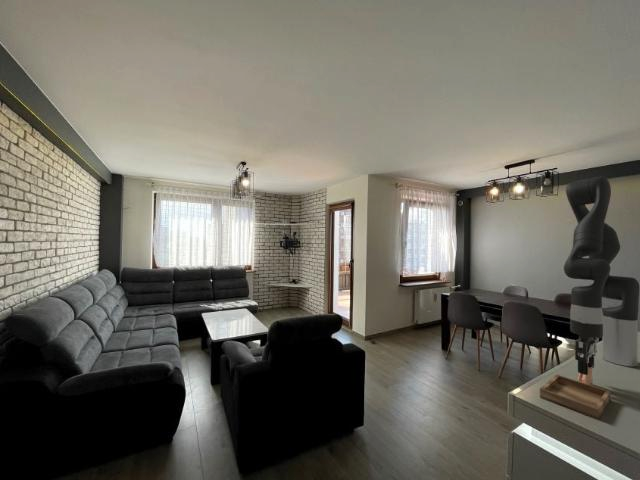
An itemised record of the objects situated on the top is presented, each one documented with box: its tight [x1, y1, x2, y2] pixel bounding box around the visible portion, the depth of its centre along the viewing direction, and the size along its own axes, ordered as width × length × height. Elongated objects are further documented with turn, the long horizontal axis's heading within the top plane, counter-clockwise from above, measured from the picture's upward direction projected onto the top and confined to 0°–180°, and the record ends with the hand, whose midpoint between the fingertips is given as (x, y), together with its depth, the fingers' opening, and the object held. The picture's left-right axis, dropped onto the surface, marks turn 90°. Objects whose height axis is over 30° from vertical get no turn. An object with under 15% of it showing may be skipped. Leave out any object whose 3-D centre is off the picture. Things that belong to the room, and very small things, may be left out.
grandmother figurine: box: [577, 349, 596, 386], centre depth 86 cm, size 8×4×13 cm, turn 135°
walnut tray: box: [539, 374, 612, 421], centre depth 78 cm, size 16×12×2 cm
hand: (586, 370), depth 86 cm, fingers closed on grandmother figurine, 8 cm apart
